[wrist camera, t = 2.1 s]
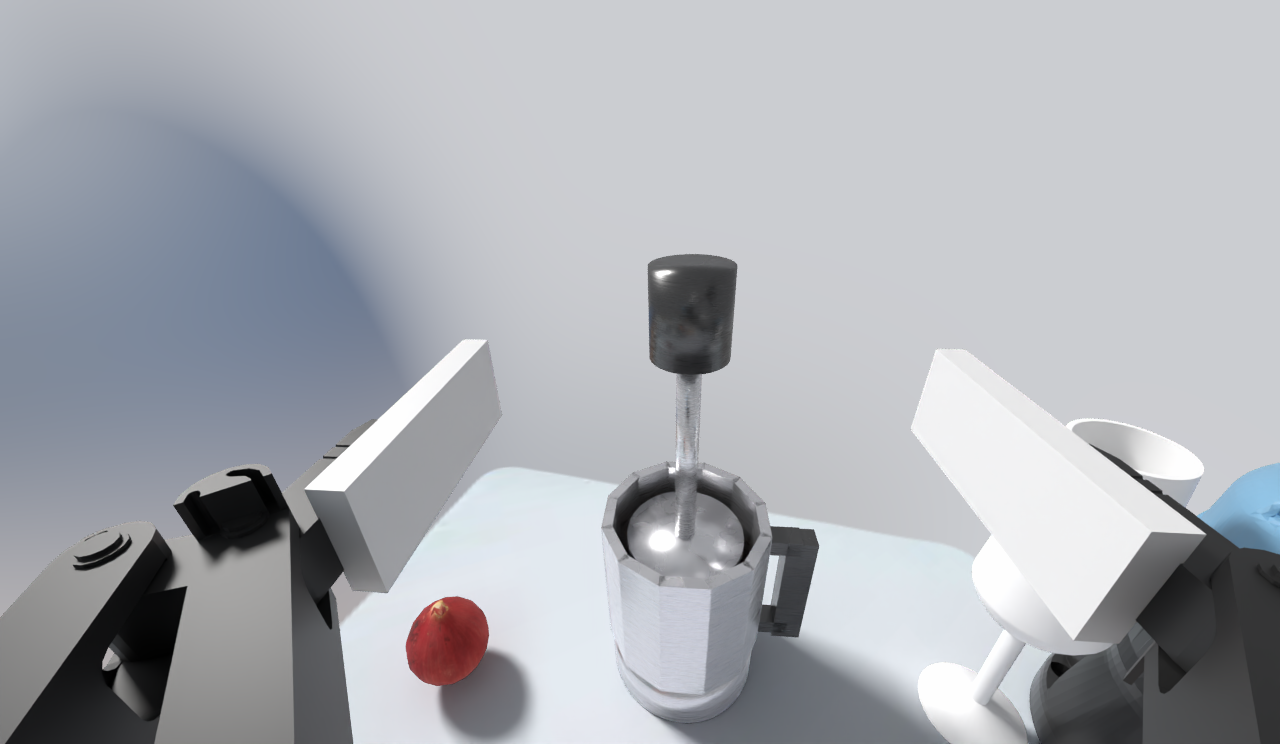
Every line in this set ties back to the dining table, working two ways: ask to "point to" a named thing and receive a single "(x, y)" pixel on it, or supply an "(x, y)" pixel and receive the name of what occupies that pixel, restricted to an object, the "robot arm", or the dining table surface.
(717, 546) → the plunger
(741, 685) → the press pot
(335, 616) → the robot arm
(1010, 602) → the champagne flute
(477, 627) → the onion
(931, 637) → the dining table surface
